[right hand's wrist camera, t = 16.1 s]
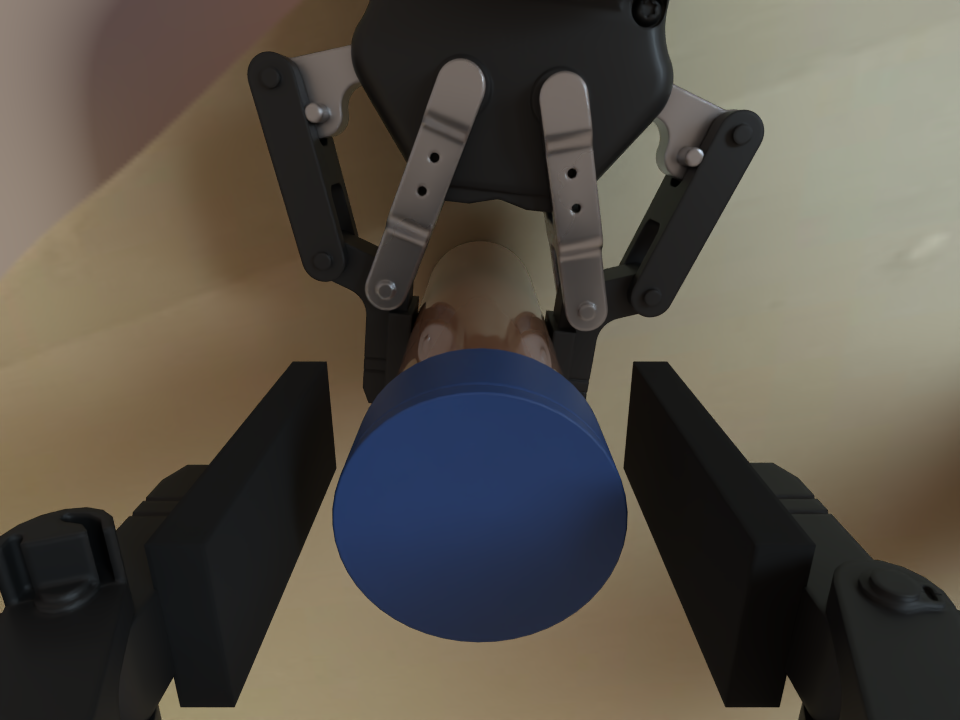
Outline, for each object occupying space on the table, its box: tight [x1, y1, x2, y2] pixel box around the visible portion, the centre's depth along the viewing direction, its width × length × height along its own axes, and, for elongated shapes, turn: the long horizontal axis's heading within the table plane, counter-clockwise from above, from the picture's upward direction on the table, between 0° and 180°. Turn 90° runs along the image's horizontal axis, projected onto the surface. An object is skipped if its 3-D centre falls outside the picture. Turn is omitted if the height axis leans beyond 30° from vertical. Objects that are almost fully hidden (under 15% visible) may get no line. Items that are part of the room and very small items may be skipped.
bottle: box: [396, 241, 564, 377], centre depth 18 cm, size 4×4×15 cm
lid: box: [332, 348, 628, 642], centre depth 11 cm, size 5×5×2 cm
